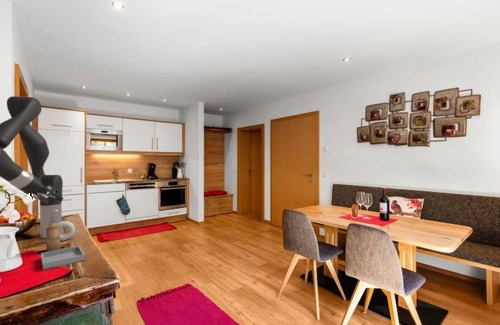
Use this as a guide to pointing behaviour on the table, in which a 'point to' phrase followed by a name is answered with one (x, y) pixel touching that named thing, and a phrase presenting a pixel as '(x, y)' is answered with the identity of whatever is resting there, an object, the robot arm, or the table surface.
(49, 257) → the tray
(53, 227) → the pepper mill
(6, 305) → the table surface
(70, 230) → the donut
